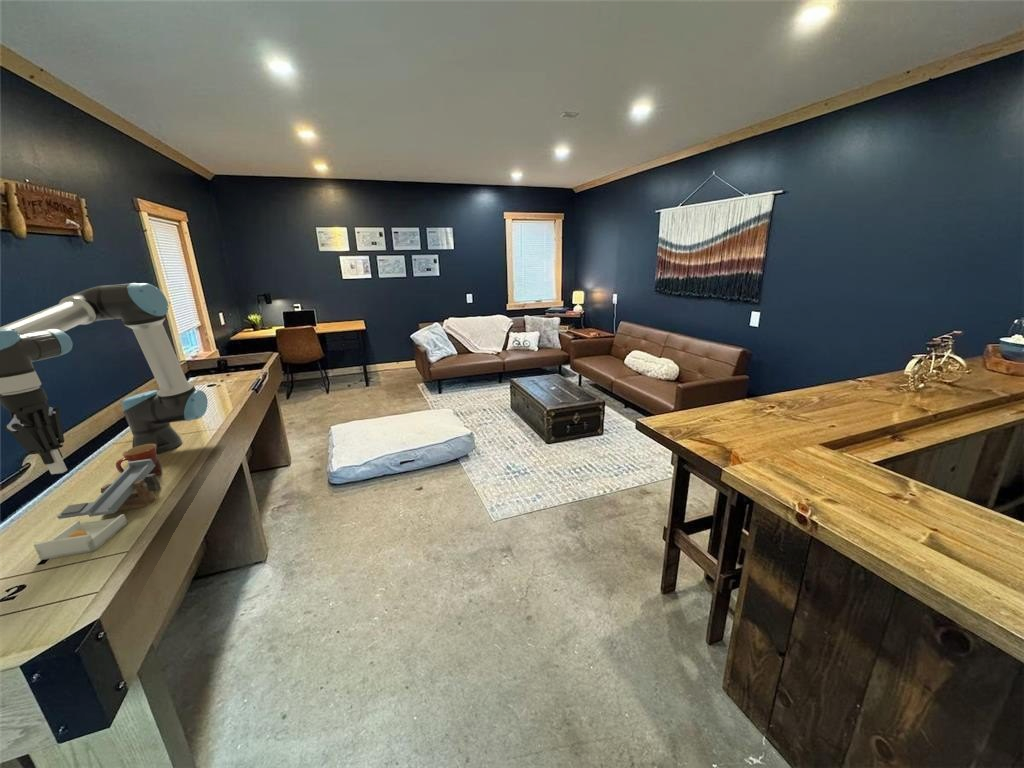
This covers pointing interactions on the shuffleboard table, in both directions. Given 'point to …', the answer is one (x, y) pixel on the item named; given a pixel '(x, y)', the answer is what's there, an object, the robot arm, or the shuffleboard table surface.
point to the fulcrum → (140, 493)
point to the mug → (141, 457)
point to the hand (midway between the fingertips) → (59, 472)
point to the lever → (112, 492)
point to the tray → (80, 538)
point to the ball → (78, 533)
